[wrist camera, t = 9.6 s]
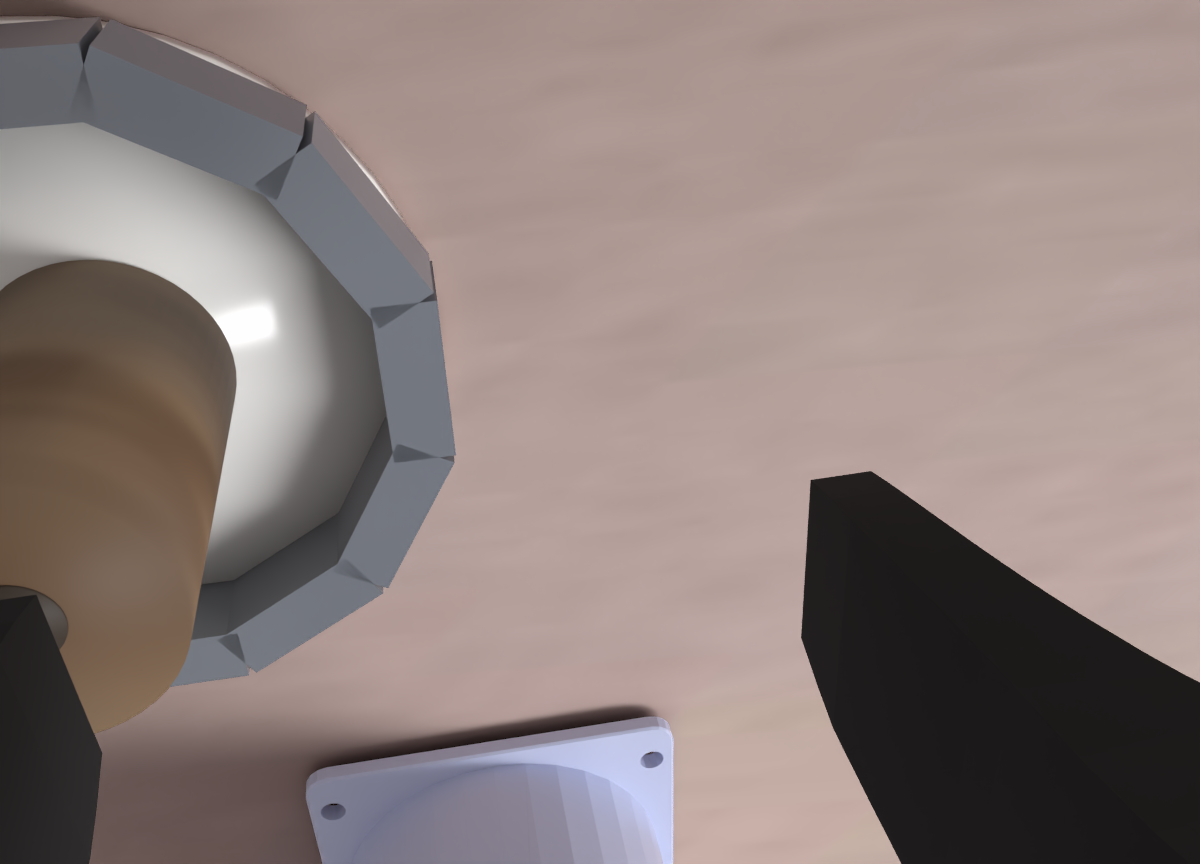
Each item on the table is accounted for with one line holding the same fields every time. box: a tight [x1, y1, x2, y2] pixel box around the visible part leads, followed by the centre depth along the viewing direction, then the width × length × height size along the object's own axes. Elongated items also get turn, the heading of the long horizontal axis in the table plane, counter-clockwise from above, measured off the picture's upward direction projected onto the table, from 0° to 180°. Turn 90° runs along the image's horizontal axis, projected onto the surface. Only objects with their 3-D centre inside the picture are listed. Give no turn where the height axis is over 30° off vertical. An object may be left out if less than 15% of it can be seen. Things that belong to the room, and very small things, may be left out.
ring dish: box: [0, 16, 456, 687], centre depth 18 cm, size 11×11×2 cm
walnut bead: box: [0, 260, 237, 733], centre depth 16 cm, size 4×4×6 cm
